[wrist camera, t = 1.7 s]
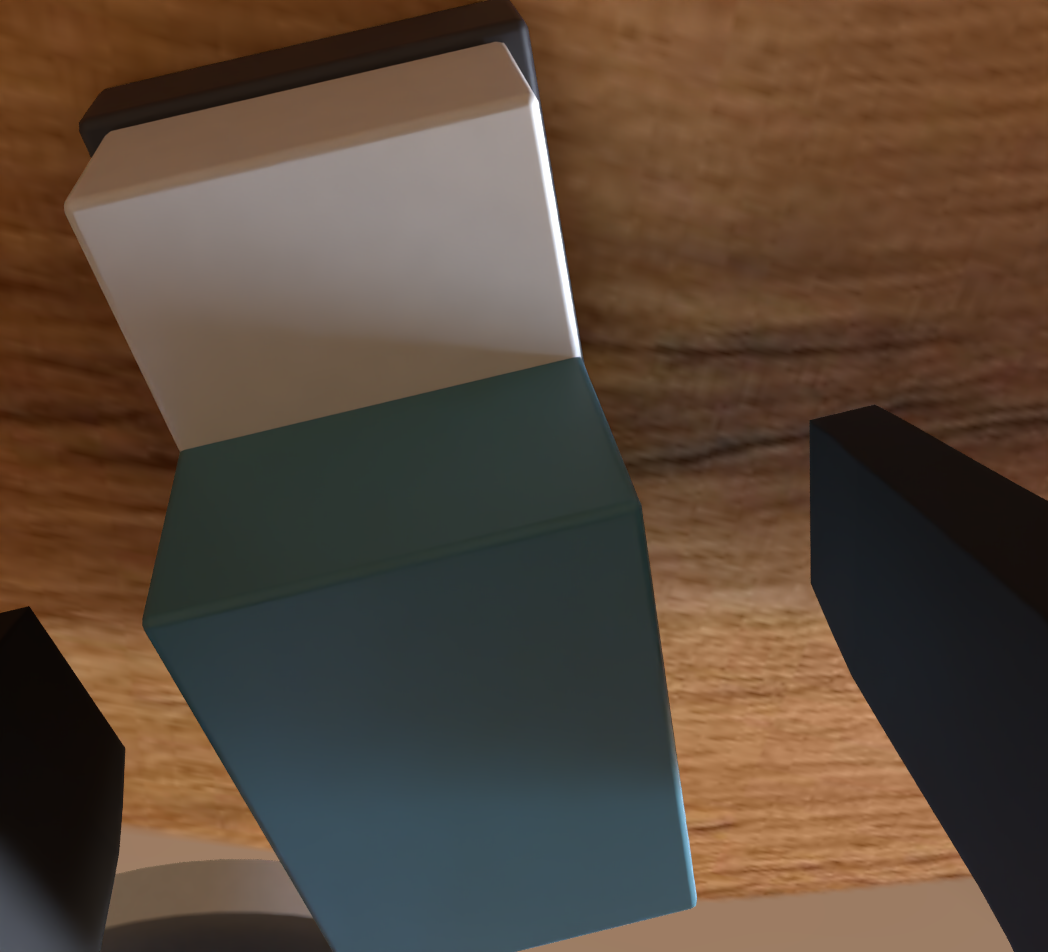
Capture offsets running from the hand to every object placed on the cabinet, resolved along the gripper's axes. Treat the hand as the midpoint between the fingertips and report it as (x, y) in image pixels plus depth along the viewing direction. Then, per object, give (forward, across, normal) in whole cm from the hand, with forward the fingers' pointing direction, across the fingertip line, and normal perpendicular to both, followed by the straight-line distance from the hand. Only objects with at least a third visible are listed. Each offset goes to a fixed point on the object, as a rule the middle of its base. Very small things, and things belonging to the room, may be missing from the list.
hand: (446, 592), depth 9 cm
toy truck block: (+2, 0, -1) cm, 3 cm away
